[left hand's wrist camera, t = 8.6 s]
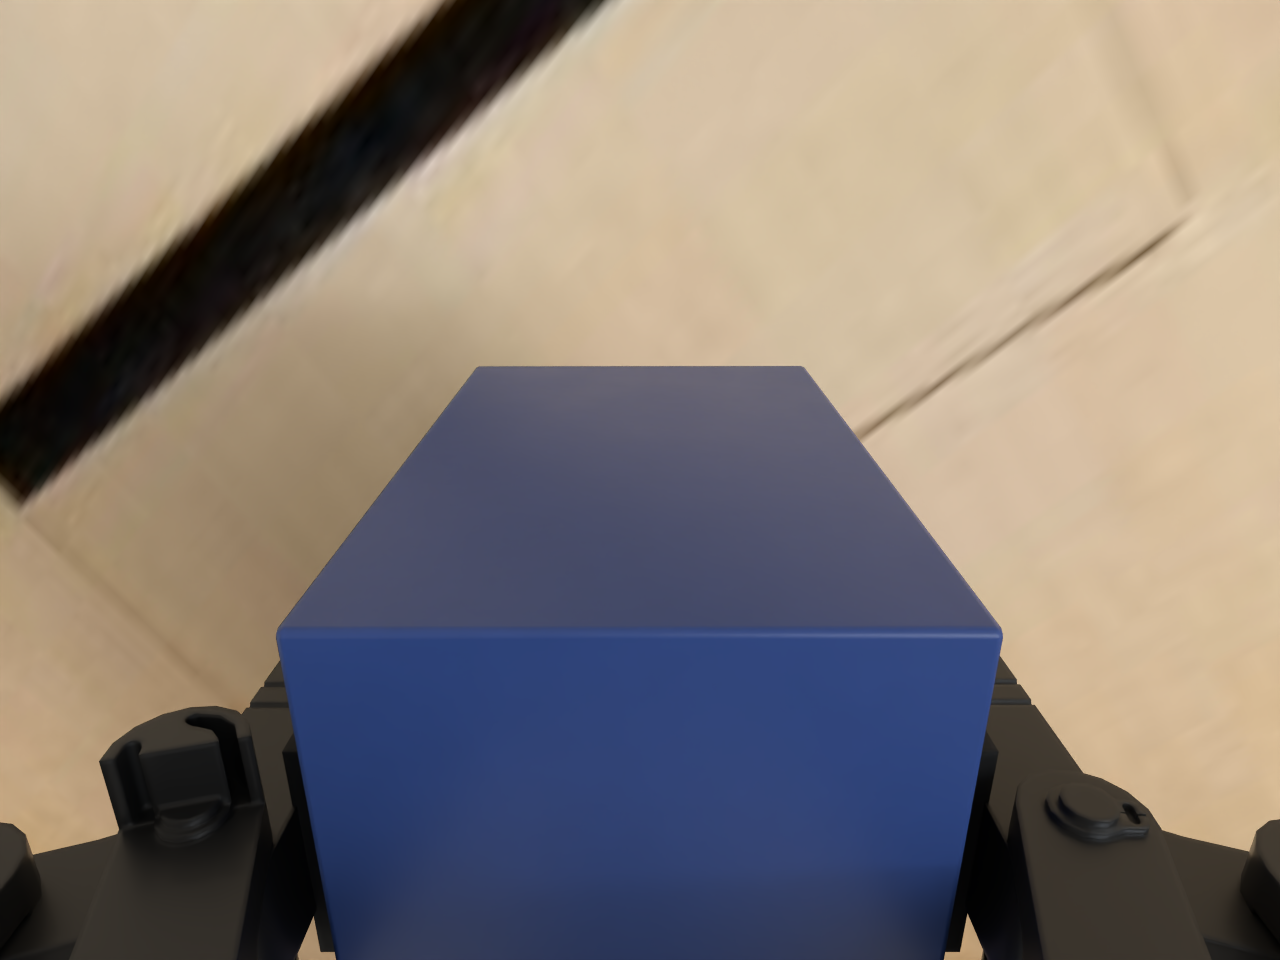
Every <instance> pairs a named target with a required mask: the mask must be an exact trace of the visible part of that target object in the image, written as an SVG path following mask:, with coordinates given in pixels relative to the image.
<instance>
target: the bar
mask: <svg viewBox="0 0 1280 960" xmlns="http://www.w3.org/2000/svg"><path fill="white" fill-rule="evenodd" d="M1002 639H1003V633H1002V630H1001V627H1000V626H999V625H998V623H997V622H996V621H995V619H994V618H993V617H992V615H991V614H990V613H989V611H988V610H987V609H986V607H985V606H984V605H983V603H982V602H981V601H980V599H979V598H978V597H977V596H976V594H975V593H974V592H973V590H972V589H971V588H970V586H969V585H968V584H967V582H966V581H965V580H964V578H963V577H962V576H961V574H960V573H959V572H958V570H957V569H956V568H955V566H954V565H953V564H952V562H951V561H950V560H949V558H948V557H947V556H946V555H945V553H944V552H943V551H942V549H941V548H940V547H939V545H938V544H937V543H936V541H935V540H934V539H933V537H932V536H931V535H930V533H929V532H928V531H927V529H926V528H925V527H924V525H923V524H922V523H921V521H920V520H919V519H918V517H917V516H916V515H915V514H914V512H913V511H912V510H911V508H910V507H909V506H908V504H907V503H906V502H905V500H904V499H903V498H902V496H901V495H900V494H899V492H898V491H897V490H896V488H895V487H894V486H893V484H892V483H891V482H890V480H889V479H888V478H887V476H886V475H885V474H884V473H883V471H882V470H881V469H880V467H879V466H878V465H877V463H876V462H875V461H874V459H873V458H872V457H871V455H870V454H869V453H868V451H867V450H866V449H865V447H864V446H863V445H862V443H861V442H860V441H859V439H858V438H857V437H856V435H855V434H854V433H853V432H852V430H851V429H850V428H849V426H848V425H847V424H846V422H845V421H844V420H843V418H842V417H841V416H840V414H839V413H838V412H837V410H836V409H835V408H834V406H833V405H832V404H831V402H830V401H829V400H828V398H827V397H826V396H825V394H824V393H823V392H822V391H821V389H820V388H819V387H818V385H817V384H816V383H815V381H814V380H813V379H812V377H811V376H810V375H809V373H808V372H807V371H806V369H805V368H804V367H802V366H499V367H477V368H476V369H475V370H474V372H473V373H472V374H471V376H470V377H469V378H468V380H467V381H466V382H465V384H464V385H463V386H462V387H461V389H460V390H459V391H458V393H457V394H456V395H455V397H454V398H453V399H452V401H451V402H450V403H449V405H448V406H447V407H446V408H445V410H444V411H443V412H442V414H441V415H440V416H439V418H438V419H437V420H436V422H435V423H434V424H433V426H432V427H431V428H430V429H429V431H428V432H427V433H426V435H425V436H424V437H423V439H422V440H421V441H420V443H419V444H418V445H417V446H416V448H415V449H414V450H413V452H412V453H411V454H410V456H409V457H408V458H407V460H406V461H405V462H404V464H403V465H402V466H401V467H400V469H399V470H398V471H397V473H396V474H395V475H394V477H393V478H392V479H391V481H390V482H389V483H388V484H387V486H386V487H385V488H384V490H383V491H382V492H381V494H380V495H379V496H378V498H377V499H376V500H375V502H374V503H373V504H372V505H371V507H370V508H369V509H368V511H367V512H366V513H365V515H364V516H363V517H362V519H361V520H360V521H359V523H358V524H357V525H356V526H355V528H354V529H353V530H352V532H351V533H350V534H349V536H348V537H347V538H346V540H345V541H344V542H343V543H342V545H341V546H340V547H339V549H338V550H337V551H336V553H335V554H334V555H333V557H332V558H331V559H330V561H329V562H328V563H327V564H326V566H325V567H324V568H323V570H322V571H321V572H320V574H319V575H318V576H317V578H316V579H315V580H314V582H313V583H312V584H311V585H310V587H309V588H308V589H307V591H306V592H305V593H304V595H303V596H302V597H301V599H300V600H299V601H298V602H297V604H296V605H295V606H294V608H293V609H292V610H291V612H290V613H289V614H288V616H287V617H286V618H285V620H284V621H283V622H282V623H281V625H280V626H279V627H278V630H277V633H276V640H277V645H278V651H279V656H280V661H281V667H282V672H283V677H284V683H285V688H286V693H287V699H288V704H289V710H290V715H291V720H292V726H293V731H294V736H295V742H296V747H297V752H298V758H299V763H300V768H301V774H302V779H303V784H304V790H305V795H306V800H307V806H308V811H309V817H310V822H311V827H312V833H313V838H314V843H315V849H316V854H317V859H318V865H319V870H320V875H321V881H322V886H323V891H324V897H325V902H326V907H327V913H328V918H329V924H330V929H331V934H332V940H333V945H334V950H335V956H336V960H944V955H945V950H946V944H947V939H948V933H949V928H950V922H951V917H952V912H953V906H954V901H955V895H956V890H957V884H958V879H959V873H960V868H961V863H962V857H963V852H964V846H965V841H966V835H967V830H968V824H969V819H970V814H971V808H972V803H973V797H974V792H975V786H976V781H977V775H978V770H979V765H980V759H981V754H982V748H983V743H984V737H985V732H986V726H987V721H988V715H989V710H990V705H991V699H992V694H993V688H994V683H995V677H996V672H997V666H998V661H999V656H1000V650H1001V645H1002Z"/></svg>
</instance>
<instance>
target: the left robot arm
mask: <svg viewBox="0 0 1280 960" xmlns="http://www.w3.org/2000/svg"><path fill="white" fill-rule="evenodd" d="M264 683H265V685H264V687H261V688H260V689H259V691H258V692H257V694H256V695H255V696H254V698H253V699H252V701H251V702H250V708H246V709H245V711H244V712H243V713H242V715H241V714H240V713H239V712H238V711H236V710H231V709H227V708H223V707H218V706H208V707H190V708H186V709H182V710H178V711H174V712H171V713H167V714H163V715H160V716H158V717H156V718H154V719H152V720H149V721H147V722H145V723H143V724H141V725H138V726H136V727H134V728H133V729H132V730H130V731H129V732H128V733H126V734H125V735H124V736H122V737H121V738H119V739H118V740H117V741H115V742H114V743H113V744H112V745H111V746H110V748H109V749H108V750H107V752H106V753H105V754H104V756H103V757H102V758H101V759H100V761H99V763H100V766H101V769H102V773H103V776H104V780H105V783H106V786H107V790H108V793H109V797H110V800H111V803H112V807H113V810H114V813H115V817H116V820H117V824H118V827H119V831H118V834H116V835H113V836H110V837H106V838H103V839H100V840H96V841H91V842H87V843H83V844H78V845H74V846H69V847H65V848H61V849H56V850H52V851H48V852H43V853H39V854H35V855H32V852H31V849H30V846H29V843H28V840H27V838H26V835H25V834H24V833H23V832H22V831H21V830H19V829H18V828H17V827H16V826H14V825H13V824H8V823H0V960H299V959H298V951H299V949H300V947H301V944H302V942H303V940H304V937H305V935H306V933H307V930H308V928H309V926H310V923H311V921H312V918H313V916H314V920H315V925H316V930H317V935H318V940H319V945H320V951H321V952H335V950H334V945H333V940H332V934H331V929H330V924H329V918H328V913H327V907H326V902H325V897H324V891H323V886H322V881H321V875H320V870H319V865H318V859H317V854H316V849H315V843H314V838H313V833H312V827H311V822H310V817H309V811H308V806H307V800H306V795H305V790H304V784H303V779H302V774H301V768H300V763H299V758H298V752H297V747H296V742H295V736H294V731H293V726H292V720H291V715H290V710H289V704H288V699H287V693H286V688H285V683H284V677H283V672H282V667H281V661H279V663H278V664H277V665H276V667H275V668H274V670H273V671H272V672H271V674H270V675H269V677H268V678H267V680H266V681H265V682H264ZM967 913H968V915H969V918H970V920H971V922H972V925H973V927H974V929H975V932H976V934H977V936H978V939H979V941H980V943H981V946H982V948H983V954H982V959H981V960H1280V819H1279V820H1271V821H1269V822H1267V823H1266V824H1265V825H1264V826H1262V827H1261V828H1260V829H1258V830H1257V831H1256V834H1255V837H1254V840H1253V843H1252V845H1251V848H1250V851H1249V852H1248V851H1244V850H1239V849H1235V848H1231V847H1226V846H1222V845H1217V844H1213V843H1209V842H1204V841H1200V840H1196V839H1191V838H1187V837H1183V836H1179V835H1176V834H1173V833H1169V832H1166V831H1163V830H1161V828H1160V826H1159V825H1158V823H1157V822H1156V820H1155V819H1154V817H1153V815H1152V814H1151V812H1150V811H1149V809H1147V808H1146V807H1145V806H1144V805H1143V804H1141V803H1140V802H1139V801H1138V800H1137V799H1135V798H1134V797H1133V796H1132V795H1131V794H1129V793H1128V792H1127V791H1125V790H1123V789H1121V788H1119V787H1117V786H1115V785H1113V784H1111V783H1109V782H1107V781H1105V780H1104V779H1102V778H1098V777H1095V776H1091V775H1088V774H1084V773H1083V772H1082V771H1081V769H1080V768H1079V767H1078V765H1077V764H1076V762H1075V761H1074V759H1073V758H1072V757H1071V755H1070V754H1069V752H1068V751H1067V750H1066V748H1065V747H1064V745H1063V744H1062V743H1061V741H1060V740H1059V738H1058V737H1057V736H1056V734H1055V733H1054V731H1053V730H1052V729H1051V727H1050V726H1049V724H1048V723H1047V722H1046V720H1045V719H1044V717H1043V716H1042V715H1041V713H1040V712H1039V710H1038V709H1037V707H1036V706H1035V705H1032V704H1031V699H1030V698H1029V696H1028V695H1027V693H1026V692H1025V691H1024V689H1023V688H1022V686H1021V685H1020V684H1017V679H1016V678H1015V677H1014V675H1013V674H1012V672H1011V671H1010V670H1009V668H1008V667H1007V665H1006V664H1005V662H1004V661H1003V660H1002V658H1001V657H1000V656H999V661H998V666H997V672H996V677H995V683H994V688H993V694H992V699H991V705H990V710H989V715H988V721H987V726H986V732H985V737H984V743H983V748H982V754H981V759H980V765H979V770H978V775H977V781H976V786H975V792H974V797H973V803H972V808H971V814H970V819H969V824H968V830H967V835H966V841H965V846H964V852H963V857H962V863H961V868H960V873H959V879H958V884H957V890H956V895H955V901H954V906H953V912H952V917H951V922H950V928H949V933H948V939H947V944H946V950H945V952H960V948H961V943H962V938H963V933H964V928H965V923H966V918H967Z"/></svg>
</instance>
